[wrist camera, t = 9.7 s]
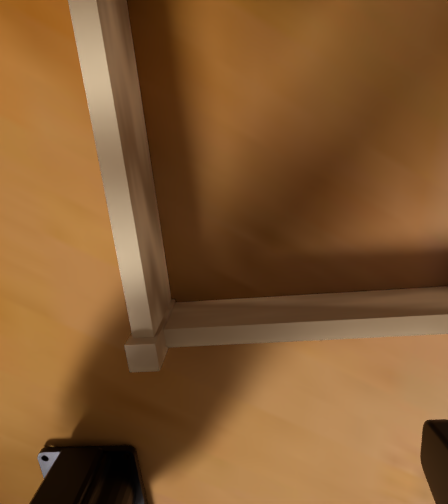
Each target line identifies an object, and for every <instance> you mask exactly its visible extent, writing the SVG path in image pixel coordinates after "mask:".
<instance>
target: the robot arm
mask: <svg viewBox="0 0 448 504" xmlns="http://www.w3.org/2000/svg"><path fill="white" fill-rule="evenodd" d="M420 457H421V464H422V468H423V471H424V474H425V476H426V479H427V482H428V484H429V487H430V490H431V492H432V495H433V497H434V500H435V503H436V504H448V420H446V419H442V420H427V421H425V423H424V425H423V432H422V443H421V456H420ZM38 461H39V464H40V468H41V471H42V474H43V477H44V480H43V481H42V483H41V485H40V487H39V488H38V490H37V492H36V493H35V495H34V497H33V498H32V500H31V502H30V503H29V504H147V500H146V495H145V491H144V486H143V481H142V476H141V472H140V467H139V462H138V457H137V452H136V450H135V448H134V447H132V446H128V445H123V446H82V447H46V448H43V449H42V450H41V451H40V453H39V454H38Z"/></svg>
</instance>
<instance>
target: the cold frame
mask: <svg viewBox="0 0 448 504" xmlns="http://www.w3.org/2000/svg"><path fill="white" fill-rule="evenodd" d="M68 3H69V8H70V13H71V18H72V24H73V29H74V34H75V39H76V45H77V50H78V55H79V60H80V66H81V71H82V76H83V81H84V86H85V92H86V97H87V102H88V107H89V113H90V118H91V123H92V128H93V133H94V139H95V144H96V149H97V154H98V160H99V165H100V170H101V175H102V180H103V186H104V191H105V196H106V201H107V207H108V212H109V217H110V222H111V227H112V233H113V238H114V243H115V248H116V254H117V259H118V264H119V269H120V275H121V280H122V285H123V290H124V295H125V301H126V306H127V311H128V316H129V322H130V327H131V332H132V333H131V335H130V336H129V338H128V340H127V341H126V343H125V345H124V347H125V352H126V357H127V362H128V367H129V372H150V371H160V369H161V367H162V364H163V361H164V359H165V356H166V353H167V351H168V348H169V347H189V346H210V345H230V344H251V343H271V342H292V341H312V340H333V339H353V338H374V337H394V336H415V335H435V334H448V286H442V287H426V288H409V289H392V290H376V291H359V292H342V293H325V294H309V295H292V296H275V297H259V298H242V299H225V300H208V301H192V302H175V299H171V292H170V286H169V279H168V272H167V266H166V259H165V252H164V246H163V239H162V232H161V226H160V219H159V212H158V206H157V199H156V192H155V186H154V179H153V172H152V166H151V159H150V152H149V146H148V139H147V133H146V126H145V119H144V113H143V106H142V99H141V93H140V86H139V79H138V73H137V66H136V59H135V53H134V46H133V39H132V33H131V26H130V19H129V13H128V6H127V0H68Z"/></svg>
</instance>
